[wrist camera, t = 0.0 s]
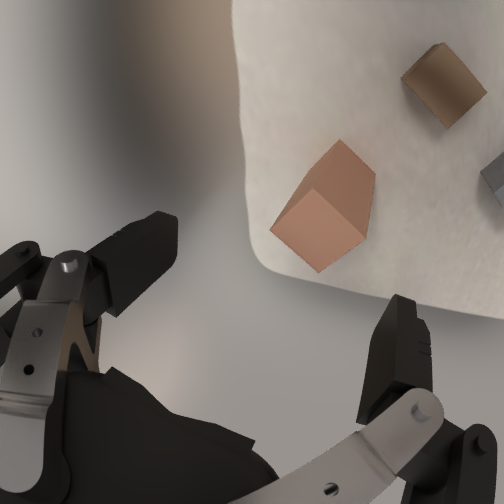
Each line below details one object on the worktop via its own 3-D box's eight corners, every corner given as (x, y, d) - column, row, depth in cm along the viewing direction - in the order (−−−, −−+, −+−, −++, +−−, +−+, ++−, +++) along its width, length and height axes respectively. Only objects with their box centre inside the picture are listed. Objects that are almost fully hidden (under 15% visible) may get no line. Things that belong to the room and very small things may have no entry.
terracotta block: (339, 139, 28) (312, 187, 19) (375, 173, 28) (365, 238, 20) (308, 170, 31) (269, 230, 23) (342, 202, 32) (318, 273, 23)
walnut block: (433, 44, 18) (443, 42, 15) (471, 86, 19) (487, 92, 15) (400, 77, 22) (403, 81, 18) (437, 117, 22) (447, 129, 19)
